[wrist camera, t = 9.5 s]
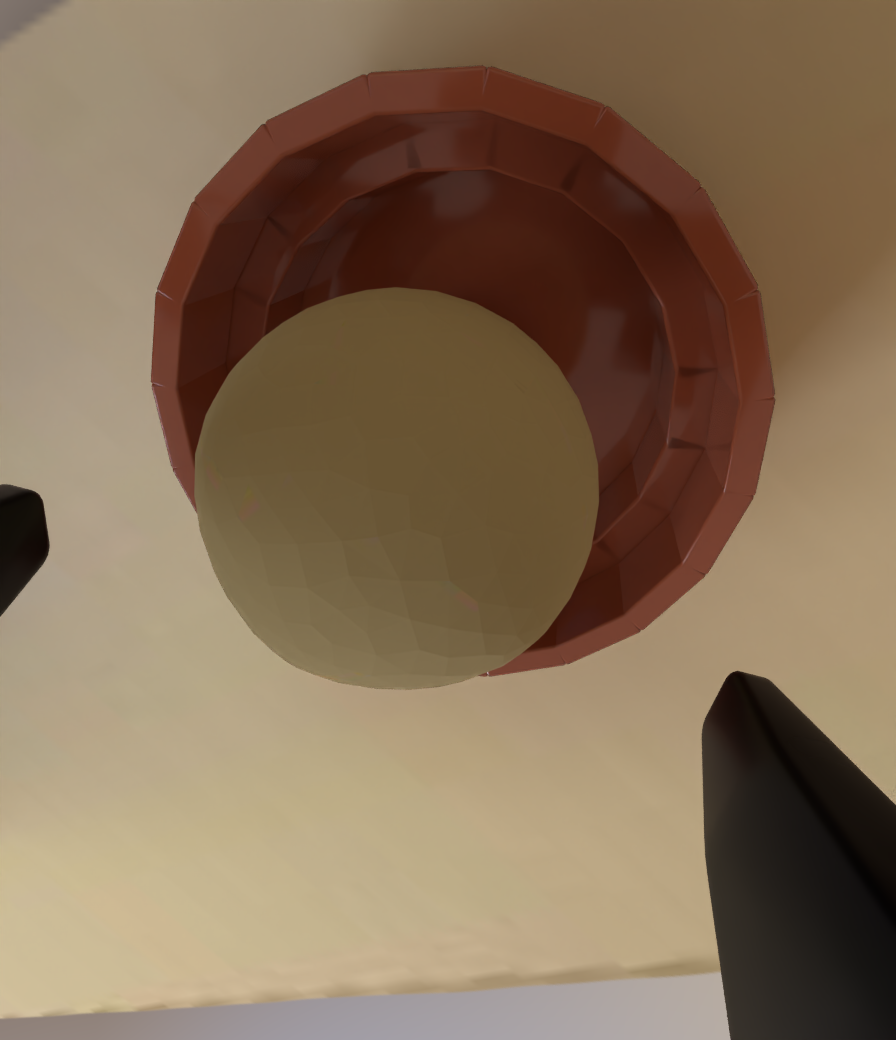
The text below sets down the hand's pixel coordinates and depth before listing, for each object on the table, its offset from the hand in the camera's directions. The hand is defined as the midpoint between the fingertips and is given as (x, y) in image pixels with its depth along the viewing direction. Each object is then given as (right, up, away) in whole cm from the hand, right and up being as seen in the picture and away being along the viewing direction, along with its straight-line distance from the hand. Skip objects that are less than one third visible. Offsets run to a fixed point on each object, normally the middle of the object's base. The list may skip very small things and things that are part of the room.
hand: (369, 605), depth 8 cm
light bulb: (+1, +5, +9) cm, 10 cm away
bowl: (+2, +5, +9) cm, 11 cm away
